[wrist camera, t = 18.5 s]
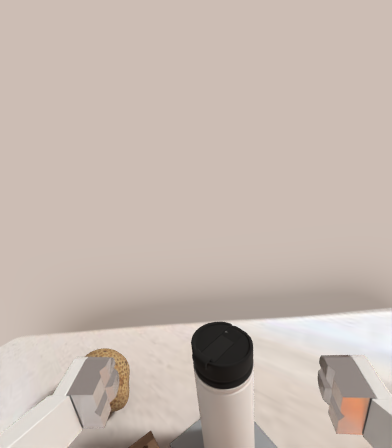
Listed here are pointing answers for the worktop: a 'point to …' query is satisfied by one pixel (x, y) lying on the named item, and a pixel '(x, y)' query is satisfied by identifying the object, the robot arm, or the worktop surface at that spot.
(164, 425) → the worktop surface
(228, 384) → the travel mug
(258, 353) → the worktop surface
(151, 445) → the wooden box
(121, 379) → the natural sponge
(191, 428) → the mat
